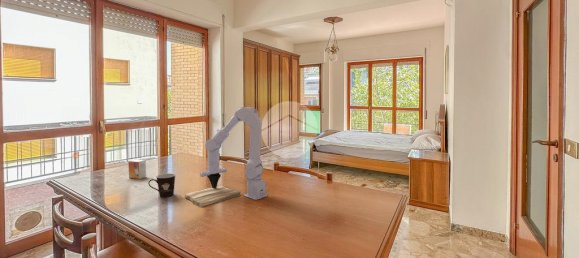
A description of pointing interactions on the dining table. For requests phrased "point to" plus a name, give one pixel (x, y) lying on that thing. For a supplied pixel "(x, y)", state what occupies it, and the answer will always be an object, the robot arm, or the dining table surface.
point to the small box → (137, 169)
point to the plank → (205, 192)
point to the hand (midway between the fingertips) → (214, 187)
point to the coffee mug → (165, 184)
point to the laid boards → (216, 197)
